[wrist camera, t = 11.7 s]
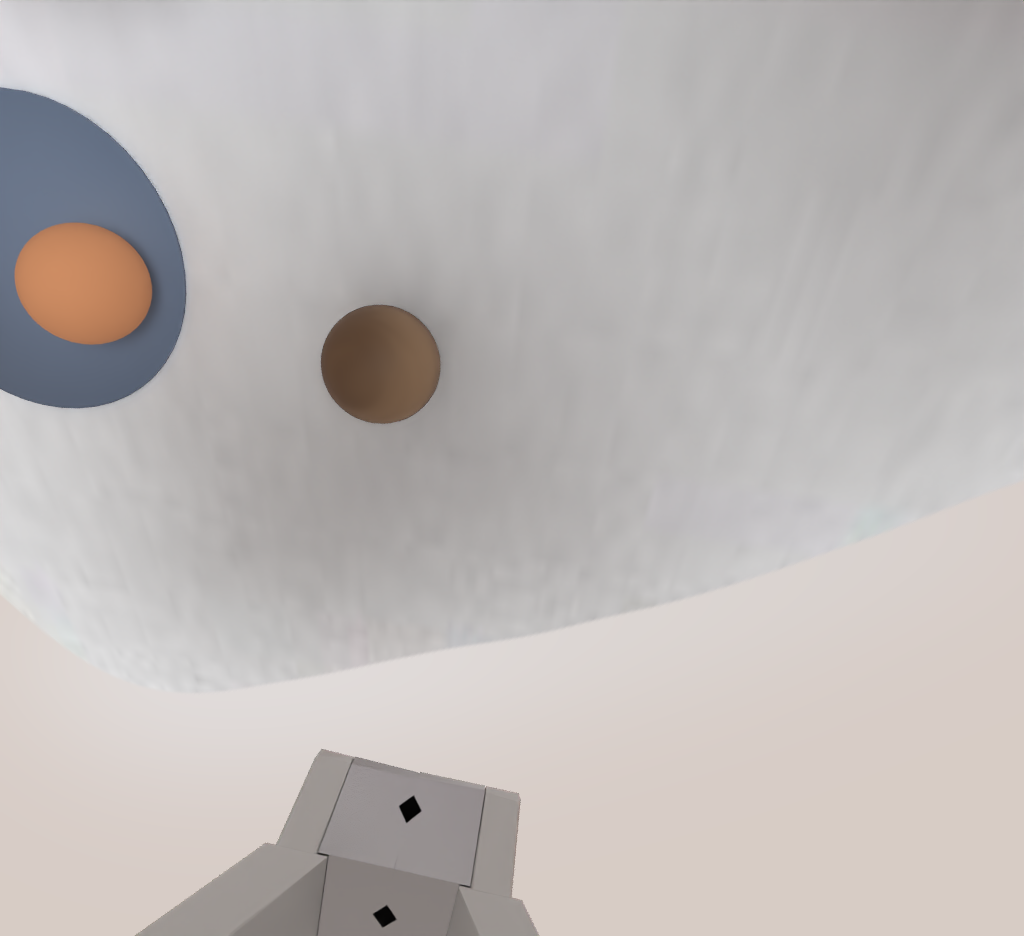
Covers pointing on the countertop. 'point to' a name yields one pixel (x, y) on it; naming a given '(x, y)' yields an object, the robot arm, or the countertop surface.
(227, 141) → the countertop surface
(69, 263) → the ball
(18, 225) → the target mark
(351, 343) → the ball
